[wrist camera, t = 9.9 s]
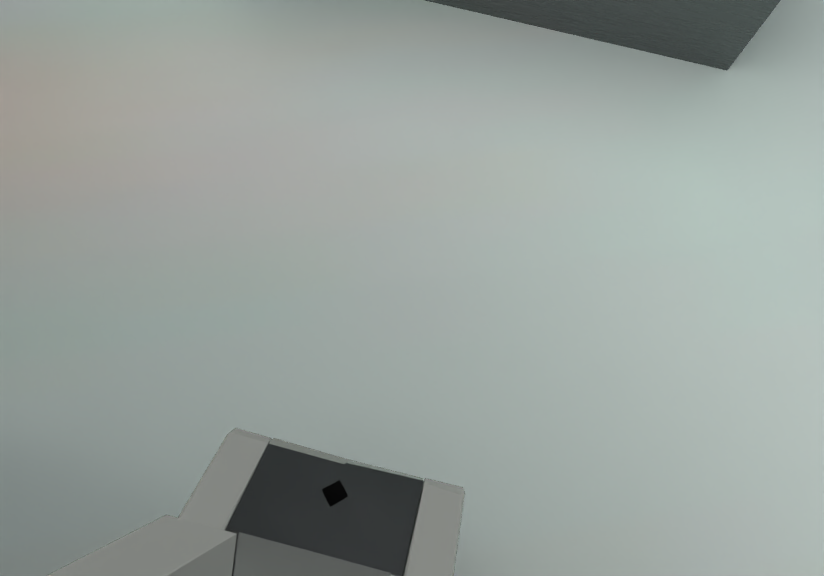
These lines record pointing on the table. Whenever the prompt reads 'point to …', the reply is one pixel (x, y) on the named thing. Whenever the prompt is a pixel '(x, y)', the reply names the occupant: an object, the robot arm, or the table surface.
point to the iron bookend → (643, 23)
